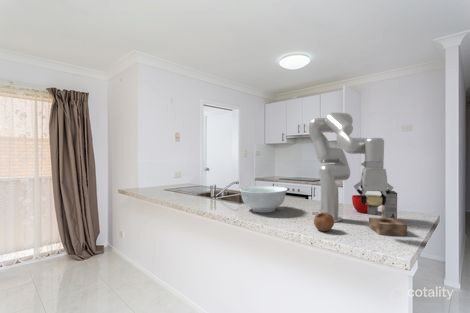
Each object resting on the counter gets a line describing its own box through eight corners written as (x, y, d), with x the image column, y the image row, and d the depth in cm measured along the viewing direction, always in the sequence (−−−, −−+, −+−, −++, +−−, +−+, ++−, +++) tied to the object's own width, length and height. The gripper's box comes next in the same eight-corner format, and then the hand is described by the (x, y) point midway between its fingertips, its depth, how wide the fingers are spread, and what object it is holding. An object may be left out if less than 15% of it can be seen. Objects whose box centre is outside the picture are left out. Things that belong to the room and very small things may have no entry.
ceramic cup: (382, 215, 153) (383, 199, 153) (352, 213, 160) (352, 197, 160) (380, 211, 165) (380, 196, 165) (351, 209, 172) (351, 194, 172)
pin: (366, 215, 111) (367, 197, 111) (360, 211, 119) (361, 194, 119) (385, 216, 110) (385, 198, 110) (377, 211, 118) (378, 194, 118)
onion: (321, 238, 121) (315, 221, 118) (313, 227, 130) (308, 211, 127) (339, 231, 121) (335, 214, 118) (330, 221, 130) (326, 205, 127)
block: (379, 234, 117) (379, 223, 117) (368, 227, 129) (368, 217, 129) (407, 235, 116) (407, 224, 116) (393, 228, 128) (393, 218, 128)
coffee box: (381, 217, 150) (381, 190, 150) (393, 218, 148) (393, 190, 148) (384, 220, 142) (384, 192, 142) (397, 221, 140) (397, 192, 140)
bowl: (229, 209, 171) (229, 188, 171) (262, 203, 192) (262, 184, 192) (264, 218, 147) (264, 193, 147) (297, 210, 168) (297, 188, 168)
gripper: (356, 165, 111) (355, 205, 112) (398, 166, 109) (397, 206, 110) (350, 164, 119) (349, 201, 119) (390, 165, 116) (389, 203, 117)
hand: (372, 204), depth 114 cm, fingers closed on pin, 7 cm apart
